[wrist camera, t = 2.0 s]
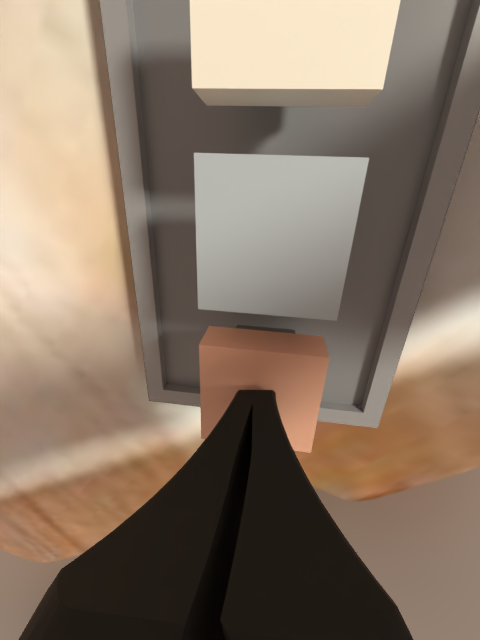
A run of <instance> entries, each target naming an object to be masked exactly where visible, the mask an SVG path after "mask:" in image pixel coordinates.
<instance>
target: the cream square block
mask: <svg viewBox="0 0 480 640" xmlns="http://www.w3.org/2000/svg"><path fill="white" fill-rule="evenodd" d="M400 1H401V0H190V32H191V69H192V89H193V90H194V91H195V92H196V94H197V95H198V96H199V97H200V98H201V99H202V100H203V102H204V103H205V104H206V105H207V106H293V107H365V106H366V105H367V104H368V103H369V102H370V101H372V100H373V99H374V98H375V97H376V96H377V95H378V94H379V93H380V92H381V91H382V90H383V86H384V81H385V76H386V71H387V66H388V61H389V56H390V51H391V46H392V41H393V36H394V31H395V26H396V21H397V16H398V11H399V6H400Z"/></svg>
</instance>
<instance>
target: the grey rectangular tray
mask: <svg viewBox="0 0 480 640" xmlns="http://www.w3.org/2000/svg"><path fill="white" fill-rule="evenodd" d="M100 8H101V16H102V24H103V32H104V40H105V48H106V56H107V65H108V73H109V81H110V89H111V97H112V105H113V113H114V121H115V129H116V137H117V146H118V154H119V162H120V170H121V178H122V186H123V194H124V202H125V210H126V218H127V226H128V235H129V243H130V251H131V259H132V267H133V275H134V283H135V291H136V299H137V307H138V316H139V324H140V332H141V340H142V348H143V356H144V364H145V372H146V380H147V388H148V396H149V401H156V402H165V403H173V404H181V405H190V406H198V407H201V401H200V364H199V344H200V342H201V340H202V338H203V336H204V334H205V333H206V331H207V329H208V327H209V326H217V327H228V328H236V327H237V325H247V326H258V327H269V328H281V329H292V330H295V334H305V335H316V336H323V337H324V341H325V344H326V347H327V351H328V354H329V357H330V358H329V363H328V368H327V373H326V378H325V383H324V388H323V393H322V398H321V403H320V408H319V414H318V419H317V421H323V422H331V423H340V424H348V425H357V426H365V427H373V428H378V425H379V422H380V419H381V415H382V412H383V409H384V406H385V403H386V400H387V397H388V394H389V390H390V387H391V384H392V381H393V378H394V375H395V372H396V369H397V366H398V362H399V359H400V356H401V353H402V350H403V347H404V344H405V341H406V337H407V334H408V331H409V328H410V325H411V322H412V319H413V316H414V313H415V309H416V306H417V303H418V300H419V297H420V294H421V291H422V288H423V284H424V281H425V278H426V275H427V272H428V269H429V266H430V263H431V260H432V256H433V253H434V250H435V247H436V244H437V241H438V238H439V235H440V231H441V228H442V225H443V222H444V219H445V216H446V213H447V210H448V207H449V203H450V200H451V197H452V194H453V191H454V188H455V185H456V182H457V178H458V175H459V172H460V169H461V166H462V163H463V160H464V157H465V154H466V150H467V147H468V144H469V141H470V138H471V135H472V132H473V129H474V125H475V122H476V119H477V116H478V113H479V110H480V0H401V1H400V6H399V11H398V16H397V21H396V26H395V31H394V36H393V41H392V46H391V51H390V56H389V61H388V66H387V71H386V76H385V81H384V86H383V90H382V91H381V92H380V93H379V94H378V95H377V96H376V97H375V98H374V99H373V100H372V101H370V102H369V103H368V104H367V105H366V106H365V107H293V106H207V105H206V104H205V103H204V102H203V100H202V99H201V98H200V97H199V96H198V95H197V94H196V92H195V91H194V90H193V89H192V69H191V32H190V0H100ZM194 153H222V154H258V155H293V156H328V157H363V158H369V162H368V167H367V172H366V177H365V182H364V187H363V192H362V197H361V202H360V207H359V212H358V217H357V222H356V227H355V232H354V237H353V242H352V247H351V252H350V257H349V263H348V268H347V273H346V278H345V283H344V288H343V293H342V298H341V303H340V308H339V313H338V318H337V321H333V320H322V319H310V318H298V317H286V316H274V315H262V314H251V313H239V312H227V311H215V310H203V309H198V290H197V253H196V216H195V179H194Z"/></svg>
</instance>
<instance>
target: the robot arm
mask: <svg viewBox="0 0 480 640" xmlns="http://www.w3.org/2000/svg"><path fill="white" fill-rule="evenodd" d="M19 640H413V638H412V636H411V634H410V632H409V630H408V628H407V626H406V624H405V622H404V619H403V618H402V615H401V613H400V612H399V609H398V607H397V606H396V604H395V603H394V602H393V600H392V599H391V598H390V596H389V595H388V594H387V593H386V591H385V590H384V589H383V588H382V586H381V585H380V584H379V583H378V581H377V580H376V579H375V577H374V576H373V575H372V574H371V572H370V571H369V569H368V568H367V567H366V566H365V564H364V563H363V562H362V560H361V559H360V558H359V556H358V555H357V553H356V552H355V551H354V549H353V548H352V546H351V545H350V544H349V542H348V541H347V539H346V538H345V537H344V535H343V534H342V532H341V531H340V529H339V528H338V526H337V525H336V523H335V522H334V520H333V519H332V517H331V516H330V514H329V513H328V511H327V510H326V508H325V507H324V505H323V504H322V502H321V500H320V499H319V497H318V495H317V494H316V492H315V490H314V488H313V487H312V485H311V483H310V481H309V480H308V478H307V476H306V474H305V472H304V471H303V469H302V467H301V465H300V463H299V461H298V459H297V457H296V455H295V452H294V450H293V448H292V446H291V444H290V441H289V439H288V437H287V434H286V431H285V429H284V426H283V424H282V421H281V418H280V414H279V411H278V407H277V403H276V393H275V392H274V391H273V390H238V391H237V392H236V394H235V396H234V398H233V400H232V401H231V403H230V405H229V406H228V408H227V409H226V411H225V413H224V414H223V416H222V417H221V419H220V420H219V421H218V423H217V424H216V426H215V427H214V429H213V430H212V431H211V433H210V434H209V435H208V437H207V438H206V439H205V441H204V442H203V443H202V444H201V446H200V447H199V448H198V449H197V451H196V452H195V453H194V454H193V456H192V457H191V458H190V459H189V460H188V461H187V462H186V464H185V465H184V466H183V467H182V468H181V469H180V470H179V471H178V472H177V473H176V474H175V475H174V476H173V478H171V479H170V480H169V481H168V482H167V483H166V484H165V485H164V486H163V487H162V488H161V489H160V490H159V491H158V492H157V493H156V494H155V495H154V496H153V497H152V498H151V499H150V500H149V501H148V502H147V503H145V504H144V505H143V506H142V507H141V508H140V509H138V510H137V511H136V512H135V513H134V514H133V515H131V516H130V517H129V518H128V519H127V520H125V521H124V522H123V523H122V524H121V525H120V526H118V527H117V528H116V529H115V530H114V531H112V532H111V533H110V534H108V535H107V536H106V537H105V538H103V539H102V540H101V541H99V542H98V543H96V544H95V545H94V546H92V547H91V548H90V549H88V550H87V551H86V552H84V553H83V554H82V555H80V556H79V557H78V558H76V559H75V560H74V561H72V562H71V563H69V564H68V565H67V566H65V567H64V568H62V569H61V570H60V572H59V573H58V575H57V577H56V578H55V580H54V581H53V583H52V584H51V586H50V587H49V588H48V590H47V592H46V593H45V595H44V597H43V598H42V600H41V602H40V604H39V605H38V607H37V609H36V610H35V612H34V614H33V616H32V618H31V619H30V621H29V623H28V624H27V626H26V628H25V629H24V631H23V633H22V635H21V636H20V638H19Z"/></svg>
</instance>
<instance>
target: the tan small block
mask: <svg viewBox="0 0 480 640" xmlns="http://www.w3.org/2000/svg"><path fill="white" fill-rule="evenodd" d="M329 358H330V357H329V354H328V351H327V347H326V344H325V341H324V337H323V336H316V335H305V334H295V330H292V329H281V328H269V327H258V326H247V325H237V327H236V328H228V327H217V326H209V327H208V329H207V331H206V333H205V334H204V336H203V338H202V340H201V342H200V344H199V364H200V401H201V438H202V439H206V438H207V437H208V435H209V434H210V433H211V431H212V430H213V429H214V427H215V426H216V424H217V423H218V421H219V420H220V419H221V417H222V416H223V414H224V413H225V411H226V409H227V408H228V406H229V405H230V403H231V401H232V400H233V398H234V396H235V394H236V392H237V391H238V390H273V391H274V392H275V393H276V403H277V407H278V411H279V414H280V418H281V421H282V424H283V426H284V429H285V431H286V434H287V437H288V439H289V441H290V444H291V446H292V448H293V450H294V451H301V452H309V453H311V449H312V444H313V439H314V434H315V429H316V424H317V419H318V414H319V408H320V403H321V398H322V393H323V388H324V383H325V378H326V373H327V368H328V363H329Z"/></svg>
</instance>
